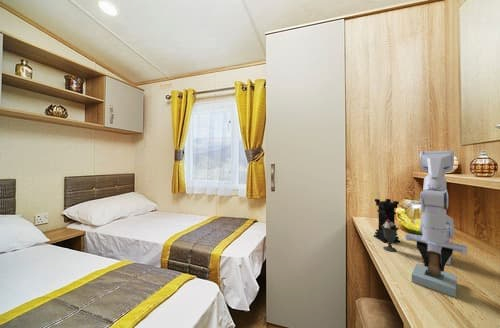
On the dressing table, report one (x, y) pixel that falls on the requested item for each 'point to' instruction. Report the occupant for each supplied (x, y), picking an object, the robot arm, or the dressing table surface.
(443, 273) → the socket block
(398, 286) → the dressing table surface
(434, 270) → the peg
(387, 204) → the chess piece
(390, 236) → the sundae
